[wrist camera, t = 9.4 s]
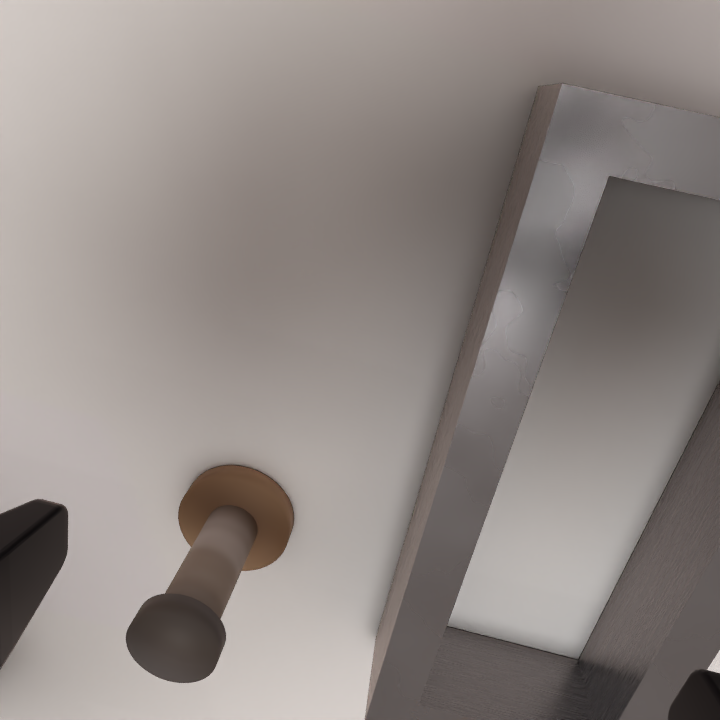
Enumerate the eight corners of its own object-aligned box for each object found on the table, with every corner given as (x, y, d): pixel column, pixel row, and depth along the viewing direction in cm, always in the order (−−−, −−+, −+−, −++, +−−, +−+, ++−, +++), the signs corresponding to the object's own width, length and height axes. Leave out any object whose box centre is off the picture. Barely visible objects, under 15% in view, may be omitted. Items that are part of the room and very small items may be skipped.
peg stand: (285, 566, 23) (234, 714, 17) (183, 540, 23) (100, 679, 17) (301, 480, 21) (250, 615, 16) (191, 453, 21) (102, 577, 16)
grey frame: (603, 696, 23) (628, 791, 20) (375, 637, 24) (364, 722, 20) (897, 164, 15) (1020, 182, 12) (538, 86, 15) (562, 83, 12)
